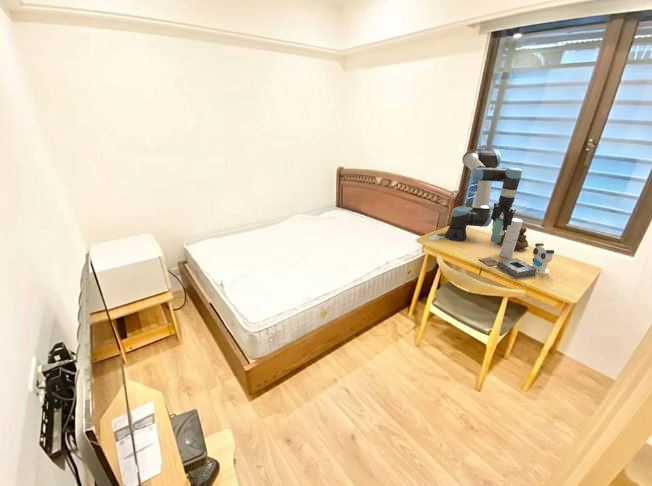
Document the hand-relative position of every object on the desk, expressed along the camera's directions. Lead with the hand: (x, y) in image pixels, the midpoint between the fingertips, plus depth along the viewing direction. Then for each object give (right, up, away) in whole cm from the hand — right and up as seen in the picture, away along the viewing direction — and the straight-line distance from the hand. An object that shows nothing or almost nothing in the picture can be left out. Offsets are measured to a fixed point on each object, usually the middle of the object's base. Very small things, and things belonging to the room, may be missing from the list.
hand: (497, 233), depth 178 cm
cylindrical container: (+16, -14, +18) cm, 28 cm away
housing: (+10, -23, -1) cm, 25 cm away
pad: (0, -18, +9) cm, 20 cm away
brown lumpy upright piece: (+27, -8, +31) cm, 42 cm away
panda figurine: (+25, -22, +1) cm, 34 cm away
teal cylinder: (0, -5, +2) cm, 5 cm away
